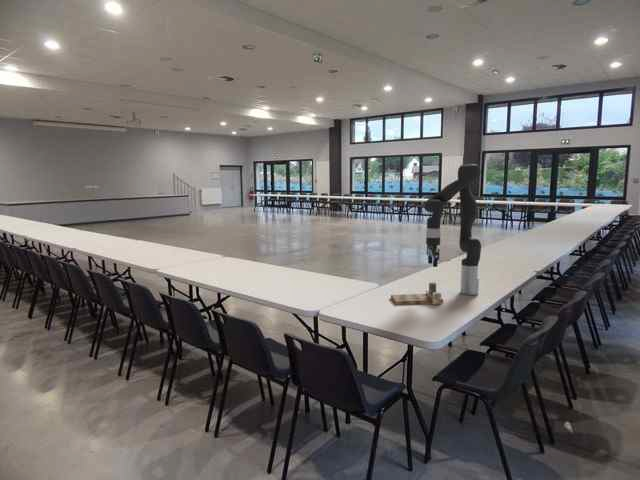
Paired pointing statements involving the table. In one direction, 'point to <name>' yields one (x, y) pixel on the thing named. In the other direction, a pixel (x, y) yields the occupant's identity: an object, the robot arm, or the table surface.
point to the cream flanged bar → (434, 293)
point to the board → (412, 299)
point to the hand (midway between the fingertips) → (432, 265)
